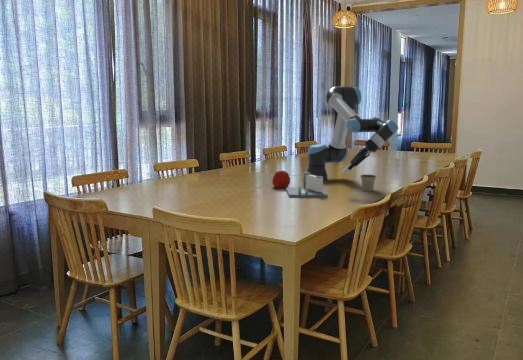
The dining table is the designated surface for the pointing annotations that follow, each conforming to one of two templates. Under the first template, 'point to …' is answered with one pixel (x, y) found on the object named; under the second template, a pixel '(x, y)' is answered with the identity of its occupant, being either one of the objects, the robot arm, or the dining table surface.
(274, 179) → the apple
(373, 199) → the dining table surface
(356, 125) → the robot arm
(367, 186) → the flower pot
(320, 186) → the white slab
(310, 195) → the dial plate
